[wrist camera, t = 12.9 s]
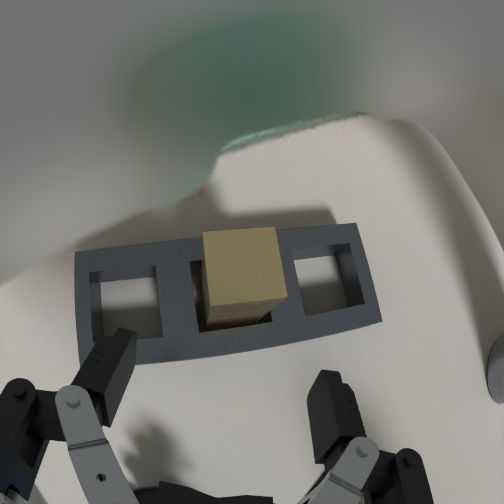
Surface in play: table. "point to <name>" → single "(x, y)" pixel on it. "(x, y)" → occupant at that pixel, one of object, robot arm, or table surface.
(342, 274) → the grey flat frame block
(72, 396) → the robot arm
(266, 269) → the brass post
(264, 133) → the table surface
